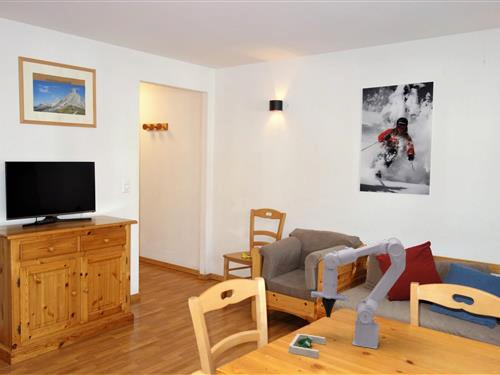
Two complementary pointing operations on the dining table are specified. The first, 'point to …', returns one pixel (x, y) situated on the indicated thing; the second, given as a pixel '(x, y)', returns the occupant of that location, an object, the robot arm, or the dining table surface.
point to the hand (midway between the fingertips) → (328, 316)
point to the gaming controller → (305, 342)
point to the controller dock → (305, 351)
